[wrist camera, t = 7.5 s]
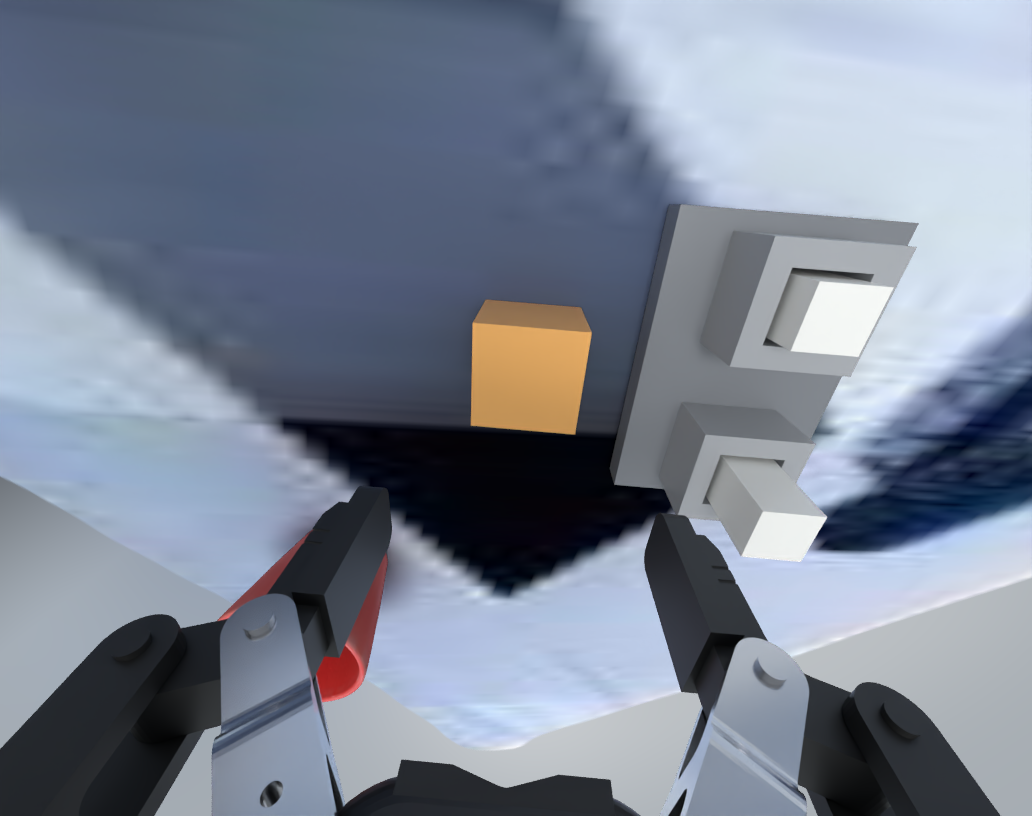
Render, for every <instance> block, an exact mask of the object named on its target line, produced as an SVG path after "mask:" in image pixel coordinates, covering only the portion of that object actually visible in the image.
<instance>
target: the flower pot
mask: <svg viewBox="0 0 1032 816" xmlns="http://www.w3.org/2000/svg"><path fill="white" fill-rule="evenodd" d="M311 531H313V530H311ZM311 531H310V532H311ZM310 532H309V533H310ZM309 533H308V534H307V535H306V536H304V537H303V538H302V539H301V540H300V541H299V542H298V543H297V544H296V545H295V546H294V547H293V548H291V549H290V550H289V551H288V552H287V553H286V554H285V555H284V556H283V557H282V558H281V559H280V560H279V561H277V562H276V563H275V564H274V565H273V566H272V567H271V568H270V569H269V570H268V571H267V572H266V573H265V574H264V575H263V576H262V577H261V578H260V579H259V580H258V581H257V582H256V583H255V584H254V585H253V586H252V587H251V588H250V589H249V590H248V591H247V592H246V593H245V594H243V595H242V596H241V597H240V598H239V599H238V600H237V601H236V602H235V603H234V604H233V605H232V606H231V607H230V608H229V609H228V610H227V611H226V612H225V613H224V614H223V615H222V616H221V617H220V618H219V619H218V620H217V621H220V620H224V619H228V618H229V617H230V616H231V615H232V614H233V613H234V612H235V611H236V610H237V609H238V608H240V607H241V606H243V605H244V604H245V603H247V602H249V601H251V600H253V599H255V598H257V597H260V596H263V595H266V594H267V593H268V591H269V590H270V589H271V587H272V586H273V585H274V583H275V582H276V580H277V579H278V577H279V576H280V575H281V573H282V572H283V570H284V569H285V567H286V566H287V565H288V563H289V562H290V560H291V559H292V557H293V556H294V555H295V553H296V552H297V550H298V549H299V547H300V546H301V545H302V544H304V540H305V539H306V538H307V536H308V535H309ZM387 564H388V559H387V554H386V553H385V556H384V558H383V560H382V562H381V565H380V567H379V569H378V571H377V574H376V576H375V578H374V580H373V583H372V585H371V587H370V590H369V592H368V594H367V596H366V599H365V601H364V603H363V605H362V608H361V610H360V612H359V615H358V617H357V619H356V621H355V624H354V626H353V628H352V630H351V633H350V635H349V637H348V639H347V642H346V644H345V646H344V649H343V651H342V653H341V655H340V658H335V657H324V658H323V660H322V662H321V665H320V667H319V669H318V671H317V673H316V676H317V680H318V685H319V689H320V694H321V699H322V702H328V701H333V700H337V699H340V698H343V697H346V696H348V695H350V694H351V693H353V692H354V691H355V690H357V689H358V688H359V686H360V685H361V684H362V682H363V680H364V678H365V675H366V671H367V667H368V663H369V658H370V654H371V649H372V644H373V639H374V634H375V629H376V624H377V619H378V615H379V609H380V604H381V599H382V593H383V587H384V581H385V575H386V570H387Z"/></svg>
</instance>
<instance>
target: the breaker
mask: <svg viewBox="0 0 1032 816" xmlns="http://www.w3.org/2000/svg"><path fill="white" fill-rule="evenodd" d="M706 497H707V499H708V501H709V502H710V504H711V506H712V507H713V509H714V511H715V513H716V514H717V516H718V518H719V519H720V521H721V523H722V525H723V526H724V528H725V530H726V531H727V533H728V535H729V537H730V538H731V540H732V542H733V543H734V545H735V547H736V549H737V550H738V552H739V554H740V555H741V557H752V558H763V559H774V560H786V561H797V562H801V561H802V559H803V557H804V556H805V554H806V552H807V550H808V549H809V547H810V545H811V544H812V542H813V540H814V539H815V537H816V535H817V534H818V532H819V530H820V528H821V527H822V525H823V523H824V522H825V520H826V518H827V516H826V515H825V514H824V513H823V512H822V511H821V510H820V509H819V508H818V507H817V506H816V505H815V504H814V502H813V501H812V500H811V499H810V498H809V497H808V496H807V495H806V494H805V493H804V492H803V491H802V490H801V489H800V487H799V486H798V485H797V484H796V483H795V482H794V481H793V480H792V479H791V478H790V477H789V476H788V475H787V474H786V473H785V471H784V470H783V469H782V468H781V467H780V466H779V465H778V464H777V463H776V462H775V461H774V460H773V459H764V458H753V457H741V456H730V455H721V456H720V458H719V461H718V463H717V466H716V469H715V471H714V474H713V477H712V479H711V482H710V484H709V487H708V490H707V492H706Z"/></svg>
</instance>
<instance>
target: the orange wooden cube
mask: <svg viewBox="0 0 1032 816" xmlns="http://www.w3.org/2000/svg"><path fill="white" fill-rule="evenodd" d="M591 335H592V332H591V330H590V327H589V325H588V323H587V320H586V318H585V316H584V313H583V311H582V309H581V307H570V306H558V305H546V304H534V303H521V302H509V301H497V300H485V302H484V304H483V305H482V307H481V309H480V311H479V313H478V314H477V316H476V318H475V320H474V321H473V338H472V392H471V426H482V427H494V428H505V429H517V430H529V431H540V432H552V433H564V434H575V431H576V425H577V419H578V413H579V407H580V401H581V395H582V389H583V383H584V377H585V371H586V365H587V359H588V353H589V347H590V341H591Z"/></svg>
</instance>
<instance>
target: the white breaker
mask: <svg viewBox="0 0 1032 816" xmlns="http://www.w3.org/2000/svg"><path fill="white" fill-rule="evenodd" d="M893 288H894V287H890V286H886V285H881V284H877V283H872V282H868V281H863V280H859V279H855V278H850V277H846V276H841V275H837V274H832V273H828V272H823V271H819V270H815V269H804V268H792V270H791V273H790V275H789V278H788V280H787V283H786V286H785V288H784V291H783V293H782V296H781V299H780V301H779V304H778V307H777V309H776V312H775V314H774V317H773V320H772V322H771V325H770V327H769V330H768V333H767V335H766V338H768V339H770V340H772V341H773V342H775V343H777V344H779V345H780V346H782V347H784V348H786V349H787V350H789V351H794V352H806V353H818V354H830V355H842V356H854V357H859V355H860V353H861V351H862V349H863V347H864V345H865V343H866V341H867V339H868V337H869V335H870V333H871V331H872V329H873V327H874V325H875V323H876V321H877V319H878V317H879V316H880V314H881V312H882V310H883V308H884V306H885V304H886V302H887V300H888V298H889V296H890V294H891V292H892V290H893Z"/></svg>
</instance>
